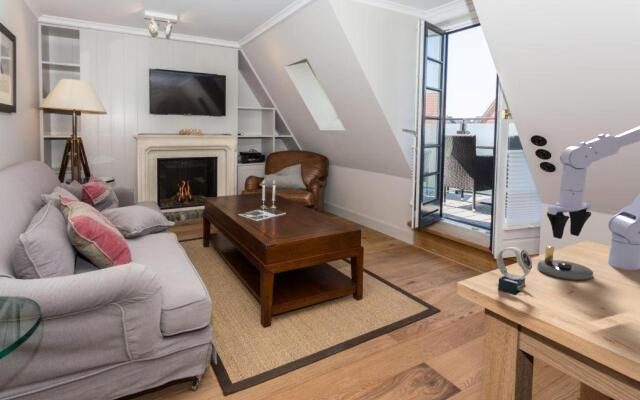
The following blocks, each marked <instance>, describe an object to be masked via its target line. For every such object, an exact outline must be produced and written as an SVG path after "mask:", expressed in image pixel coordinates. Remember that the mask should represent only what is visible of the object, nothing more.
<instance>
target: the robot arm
mask: <svg viewBox="0 0 640 400" xmlns="http://www.w3.org/2000/svg"><path fill="white" fill-rule="evenodd" d="M638 142H640V125H638V126H637V127H634V128H632V129H630V130H627V131H624V132H623V133H620V134H617V135H615V136H614V135H612V134H605V133H600V134H598V135H597V137H596V138H594V139H592V140H589V141H588V140H587V141H582V142H579V144H578V146H574V145H571V146H569V147H566V148H564V150H563V151H562V153H561V154H560V155H559V161H560V162H561V164H562V170H561V180H560V188H559V195H558V202H555V203H554V204H553V205H551V206H548V209H547V212H546V216H547V218H548V221H549V222H550V226H551V230H552V235H553V238H556V239H558V240H561V239H562V238H563V235H564V230H565V228H566V224H567V222H568V220H569V219H570V221H569V223H570V225H569V228H570V230H569V232H570V233H569V234H570V235H572V236H576V237H579V236H580V234H581V232H582V230H583V228H584V225H585V224H586V222H587V221H588V220H589V218H590V217H592V212H591V211H590V210H591V206H592V204H591V203H589V202H583V201H584V195H585V194H584V193H585V185H586V180H587V179H586V177H587V170H588V168H589V167H590V166H591V165H592V164H593V163H594V162H597V161H601V160H603V159H606V158H608V157H611V156H614V155H616V154H617V153H619V151H620V149H621V148H623V147H625V146H629V145H631V144H635V143H638ZM564 213H568V214H569V216H568V215H565V214H564ZM607 225H608V229H609V231H610V232H611V241H610V247H609V254H608V260H607V264H608V265H609V266H611V267H613V268H615V269H619V270H625V271H626V270H627V271H638V270H640V192H639V193H638V195H637V196H636V197H635V199H634V200H633V201H632V203H631V204H629V205H626V206H625V207H622V208H621V209H620V211H618V213H616V214H615V215H613V216H612V217H611V218H610V219H609V221H608V224H607Z"/></svg>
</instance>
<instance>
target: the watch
mask: <svg viewBox="0 0 640 400" xmlns="http://www.w3.org/2000/svg"><path fill="white" fill-rule="evenodd" d="M507 250H508V251H514V254H515V255H516V256H515V257H516V261H517V264H518V266H519V267H520V269H521V270H522V271H523V273H524V274H523V275H522V276H521V275H517V274H514V273H511V272H510V273H509V272H508V268H507V267H506V265H505V263H504V259H503V253H504V252H505V251H507ZM496 264H497V267H498V269H499V271H500V273H501V275H502V276H500V277H499V278H498V285H497V286H498V287H497V291H500V292H503V293H507V294H509V295H513V296H517V295H519V294H520V293H521V292H522V291H521V290H519V288H521V287H522V286H523V285H525V282H526V277H527V276H528V275H529V274H530V272H531V270H532V269H533V261H532V258H531V256H530V254H529V253H528V251H526V250H524V249H522V248H520V247H518V246H507V247H506V248H503V249H502V250H500V251H499V252H498V253H497V258H496Z"/></svg>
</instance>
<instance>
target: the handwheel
mask: <svg viewBox="0 0 640 400" xmlns="http://www.w3.org/2000/svg"><path fill="white" fill-rule="evenodd" d="M554 251H555V247H554V246H551V245H546V247H545V254H544V259H543V260H541V261H539V262H538V263H537V267H536V268H537V270H538V272H540V273H542V274H544V275H546V276H548V277H552V278H556V279H558V280H559V279H560V280H564V281H565V280H566V281H572V282H573V281H575V282H583V281H590V280H591V279H593V277H594V271H593V270H592V269H590V268H589V267H587V266H585V265H582V264H580V263H576V262H571V261H567V260H566V261H565V260H559V259H554Z"/></svg>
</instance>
